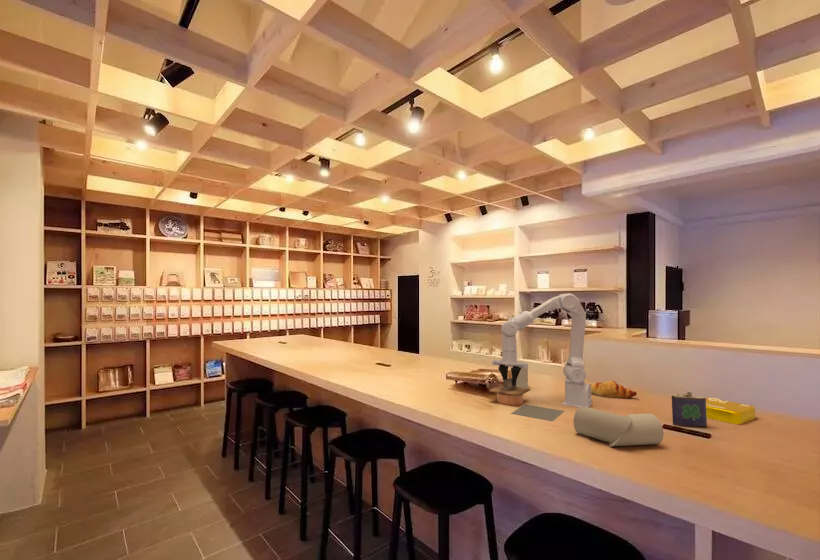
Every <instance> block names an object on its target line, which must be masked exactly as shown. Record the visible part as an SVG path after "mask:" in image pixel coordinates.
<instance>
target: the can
mask: <svg viewBox="0 0 820 560" xmlns="http://www.w3.org/2000/svg"><path fill="white" fill-rule="evenodd" d="M523 363H525V362H524V361H523ZM511 368H513V367H510V369H511ZM528 368H529V367H528ZM528 368H527V369H524V368H521V370H520V372H519V374H518V377H517V381H516V387H521V388H528V387H529V378H528V377H529V373H528V370H529V369H528ZM511 374H512V373H511V372H510V375H511ZM528 389H529V388H528Z"/></svg>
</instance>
